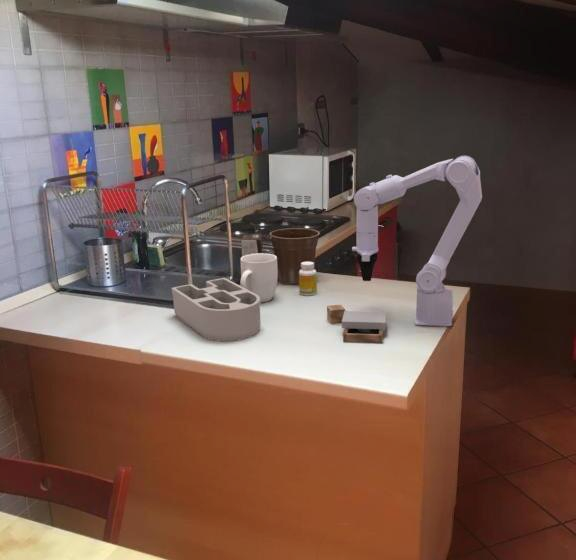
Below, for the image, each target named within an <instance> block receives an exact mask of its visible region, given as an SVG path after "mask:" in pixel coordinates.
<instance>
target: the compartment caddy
mask: <svg viewBox="0 0 576 560" xmlns="http://www.w3.org/2000/svg"><path fill="white" fill-rule="evenodd" d="M171 294H172V299H173V308H174V309H173V310H174V315H175V317H177V318H178V319H179V320H180V321H182V322H184V324H186V325H187V324H188V325H187V326H189V328H191V327H192V328H191V329H193V331H195V330H196V331H195V332H197V333H198V334H199V333H200V336H201V337H203V336H204V337H203V338H205V337H206V338H205V339H207V338H209V339H208V340H210V339H212V341H216V340H220V341H219V342H233V341H232V340H235V341H240V340H239V339H241V340H244V339H243V338H246V339H248V338H247V337H249V338H251V337H253V336H254V334H255V335H256V334H258V333H259V331H260V328H261V324H262V323H261V308H260V307H261V302H260V297H259V296H258V295H257V294H255V293H253V292H251V291H249V290H247V289H245V288H243V287H241V286H240V284H237V283H235V282H234V281H231V280H230V279H228V278H226V277H222V278H217V279H210V280H206V282H205V287H202V288H198V287H197V286H196V285H194V284H192V283H190V284H185V285H179V286H174V287H171ZM257 332H258V333H257ZM252 335H253V336H252ZM250 336H251V337H250Z"/></svg>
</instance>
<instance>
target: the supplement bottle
mask: <svg viewBox="0 0 576 560" xmlns="http://www.w3.org/2000/svg"><path fill="white" fill-rule="evenodd" d="M301 268H302V269H301V270H300V271H299V288H298V289H299V291H298V293H299V294H300V295H301V296H314V295H316V294H317V291H318V290H317V288H318V287H317V285H318V284H317V280H318V279H317V270H316V269H315V266H314V263H313V262H302V263H301ZM313 268H314V269H313Z"/></svg>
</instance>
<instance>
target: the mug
mask: <svg viewBox="0 0 576 560" xmlns="http://www.w3.org/2000/svg"><path fill="white" fill-rule="evenodd" d="M277 267H278V266H277V257H276V256H275V255H274V254H272V253H264V252H263V253H257V254H249V255H245V256H243V257H242V256H241V257H240V276H241V277H240V284H239V285H240V286H241V287H243V288H245V289H247V290H249V291H251V292H253V293H255V294H257V295H258V296H259V297H260V303H267V302H269V301H271V300H272V299H273V297H274V295H275V293H276V291H277V286H278V280H277V278H278V269H277Z"/></svg>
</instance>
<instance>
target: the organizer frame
mask: <svg viewBox="0 0 576 560" xmlns="http://www.w3.org/2000/svg"><path fill="white" fill-rule="evenodd" d="M349 331H350V328H343V333H342V336H343V337H342V341H343V343H363V344H365V343H368V344H369V343H371V344H383V335H384V329H378V334H377V333H375V334H374V333H351V332H350V333H349Z"/></svg>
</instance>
